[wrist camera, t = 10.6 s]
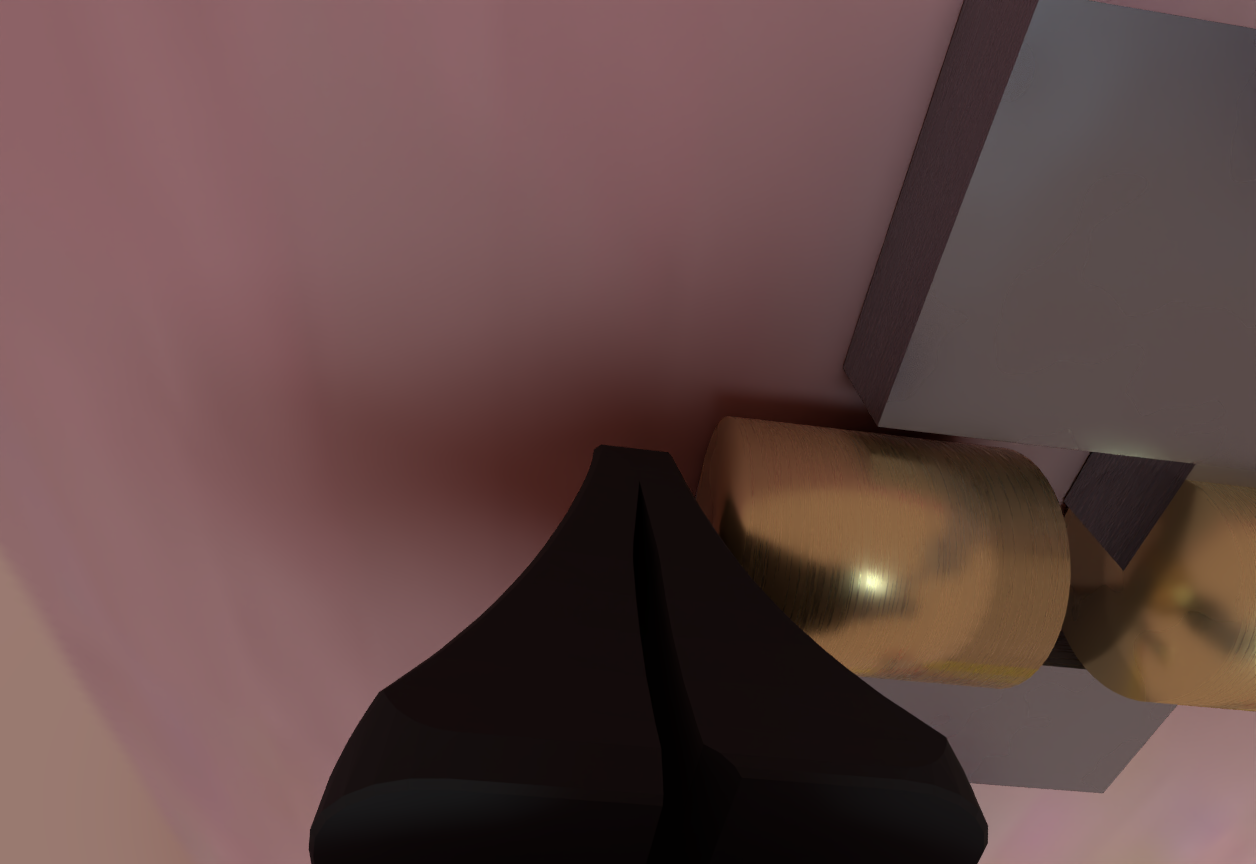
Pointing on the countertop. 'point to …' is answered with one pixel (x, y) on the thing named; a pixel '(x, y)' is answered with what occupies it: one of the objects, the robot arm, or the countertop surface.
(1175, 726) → the countertop surface
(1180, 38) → the fixed leaf
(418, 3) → the countertop surface
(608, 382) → the countertop surface
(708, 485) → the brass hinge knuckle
